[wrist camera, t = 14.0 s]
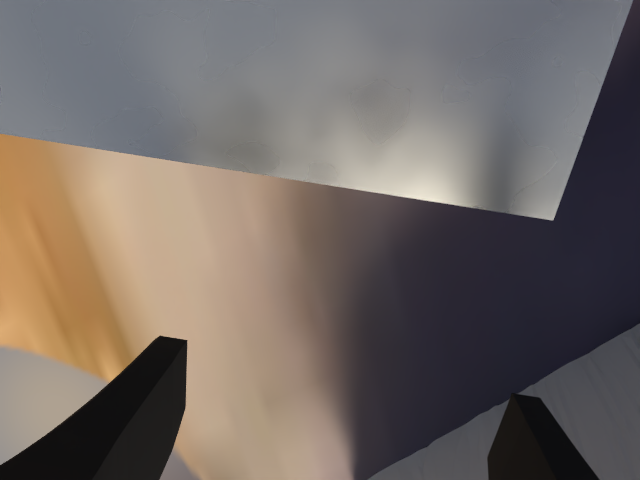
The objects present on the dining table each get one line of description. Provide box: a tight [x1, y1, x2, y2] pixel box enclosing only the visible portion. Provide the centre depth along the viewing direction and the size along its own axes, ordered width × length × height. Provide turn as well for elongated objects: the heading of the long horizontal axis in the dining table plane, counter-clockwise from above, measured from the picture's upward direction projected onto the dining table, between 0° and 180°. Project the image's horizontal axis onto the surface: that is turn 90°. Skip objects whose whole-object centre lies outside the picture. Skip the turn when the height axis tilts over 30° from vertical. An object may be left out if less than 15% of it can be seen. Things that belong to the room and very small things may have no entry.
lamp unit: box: [0, 0, 633, 220], centre depth 16 cm, size 16×7×7 cm, turn 83°
